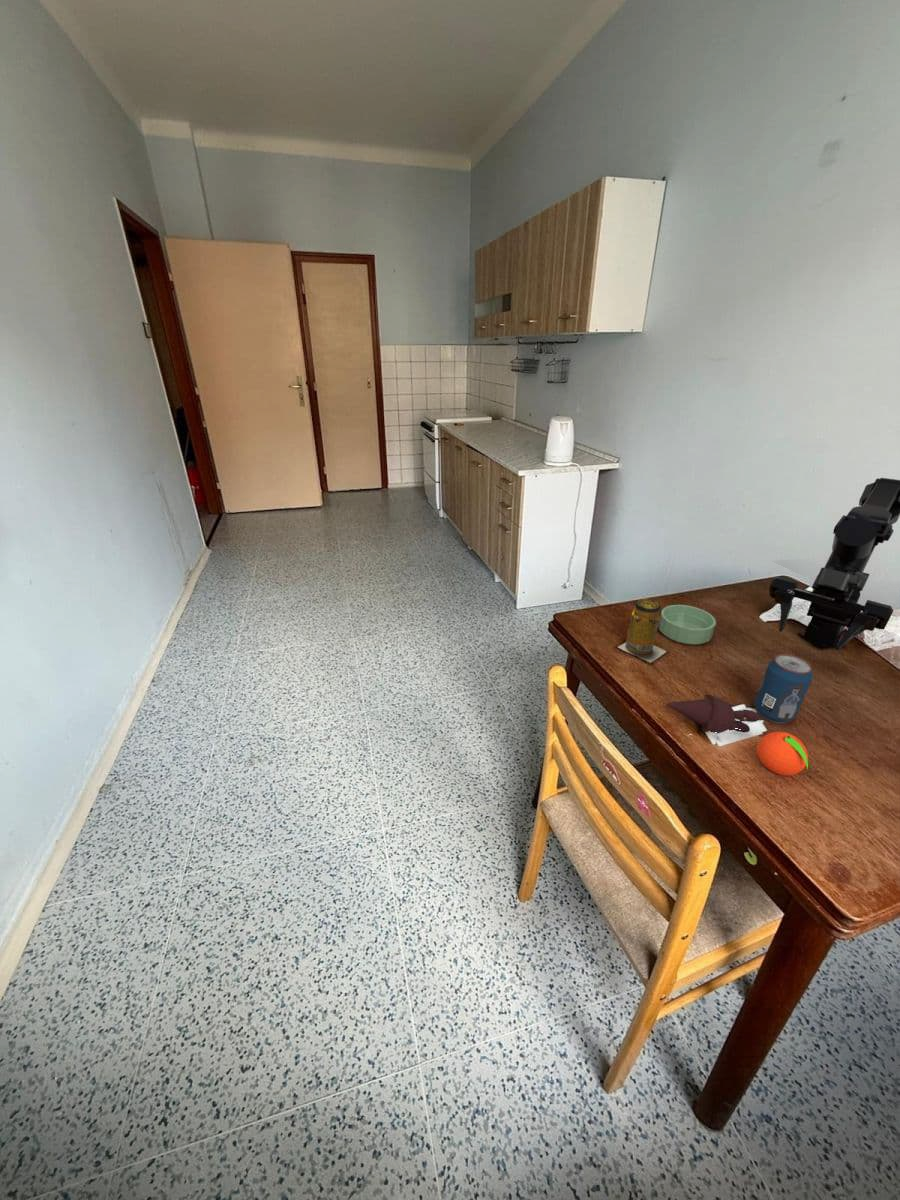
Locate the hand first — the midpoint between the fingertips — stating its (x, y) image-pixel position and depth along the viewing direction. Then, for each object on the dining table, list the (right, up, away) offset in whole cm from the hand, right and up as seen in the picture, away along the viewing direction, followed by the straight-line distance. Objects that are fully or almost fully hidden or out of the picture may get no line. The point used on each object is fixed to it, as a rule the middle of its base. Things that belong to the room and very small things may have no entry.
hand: (807, 640), depth 90 cm
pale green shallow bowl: (-10, 0, +28) cm, 29 cm away
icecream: (-20, -17, -1) cm, 26 cm away
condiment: (-23, -4, +21) cm, 32 cm away
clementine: (-13, -21, -10) cm, 27 cm away
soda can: (-5, -15, +2) cm, 16 cm away
